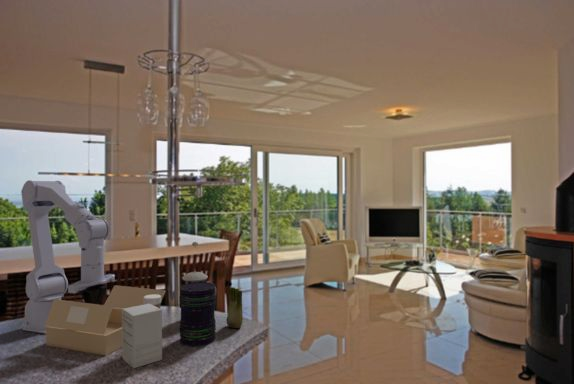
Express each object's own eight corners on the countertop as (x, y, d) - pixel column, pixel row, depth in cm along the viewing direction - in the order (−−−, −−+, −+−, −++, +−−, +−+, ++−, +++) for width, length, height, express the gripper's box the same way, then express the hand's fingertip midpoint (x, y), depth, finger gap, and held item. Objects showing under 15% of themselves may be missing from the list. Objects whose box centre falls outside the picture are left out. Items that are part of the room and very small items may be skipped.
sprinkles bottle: (163, 347, 109) (163, 296, 109) (145, 350, 107) (145, 299, 107) (158, 341, 113) (158, 292, 113) (141, 345, 111) (141, 295, 110)
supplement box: (150, 351, 107) (150, 302, 106) (162, 360, 101) (162, 309, 101) (121, 359, 102) (121, 308, 102) (132, 369, 96) (132, 315, 96)
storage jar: (198, 331, 122) (199, 280, 121) (223, 338, 116) (223, 285, 116) (171, 341, 113) (171, 287, 113) (196, 349, 108) (196, 292, 108)
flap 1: (46, 326, 110) (44, 325, 109) (55, 299, 112) (53, 298, 112) (104, 334, 103) (102, 334, 103) (112, 306, 106) (111, 306, 106)
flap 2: (114, 285, 134) (115, 286, 134) (103, 304, 129) (104, 305, 130) (165, 290, 127) (165, 291, 128) (155, 311, 123) (156, 312, 123)
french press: (181, 315, 136) (181, 239, 136) (217, 314, 137) (217, 239, 137) (176, 325, 126) (176, 244, 126) (215, 324, 127) (215, 243, 127)
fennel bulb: (244, 329, 123) (244, 289, 123) (227, 331, 122) (228, 290, 122) (240, 323, 129) (241, 284, 129) (225, 324, 127) (225, 285, 127)
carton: (46, 345, 110) (46, 326, 110) (102, 321, 129) (102, 306, 129) (106, 355, 104) (106, 335, 104) (155, 329, 123) (155, 312, 123)
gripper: (83, 269, 104) (83, 323, 104) (123, 259, 118) (123, 307, 118) (61, 267, 106) (61, 320, 107) (103, 258, 120) (103, 304, 120)
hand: (92, 313), depth 112 cm, fingers closed
